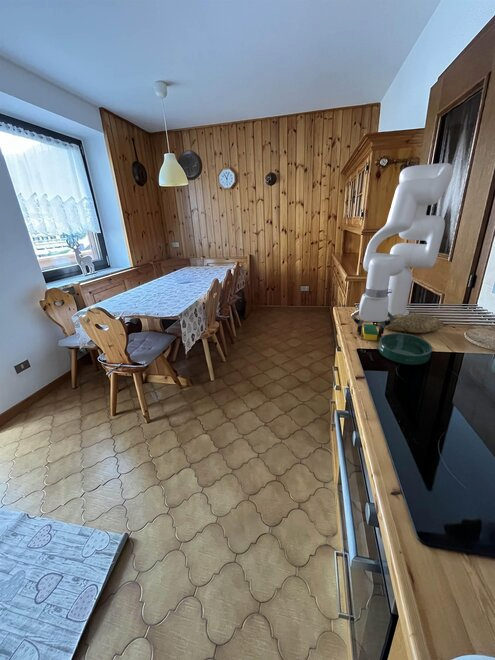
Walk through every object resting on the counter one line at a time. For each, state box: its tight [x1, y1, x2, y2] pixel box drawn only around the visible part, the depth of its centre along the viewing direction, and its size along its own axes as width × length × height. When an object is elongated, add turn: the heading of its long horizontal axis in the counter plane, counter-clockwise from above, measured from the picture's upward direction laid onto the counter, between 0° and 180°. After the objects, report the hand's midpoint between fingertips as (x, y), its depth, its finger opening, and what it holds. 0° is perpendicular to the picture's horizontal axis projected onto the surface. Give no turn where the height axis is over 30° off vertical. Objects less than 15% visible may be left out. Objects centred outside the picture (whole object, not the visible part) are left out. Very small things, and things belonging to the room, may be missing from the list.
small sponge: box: [362, 323, 379, 341], centre depth 112 cm, size 7×4×4 cm, turn 164°
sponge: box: [384, 313, 445, 334], centre depth 114 cm, size 13×8×20 cm
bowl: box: [377, 332, 433, 366], centre depth 99 cm, size 16×16×4 cm
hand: (369, 334), depth 113 cm, fingers open, 6 cm apart
